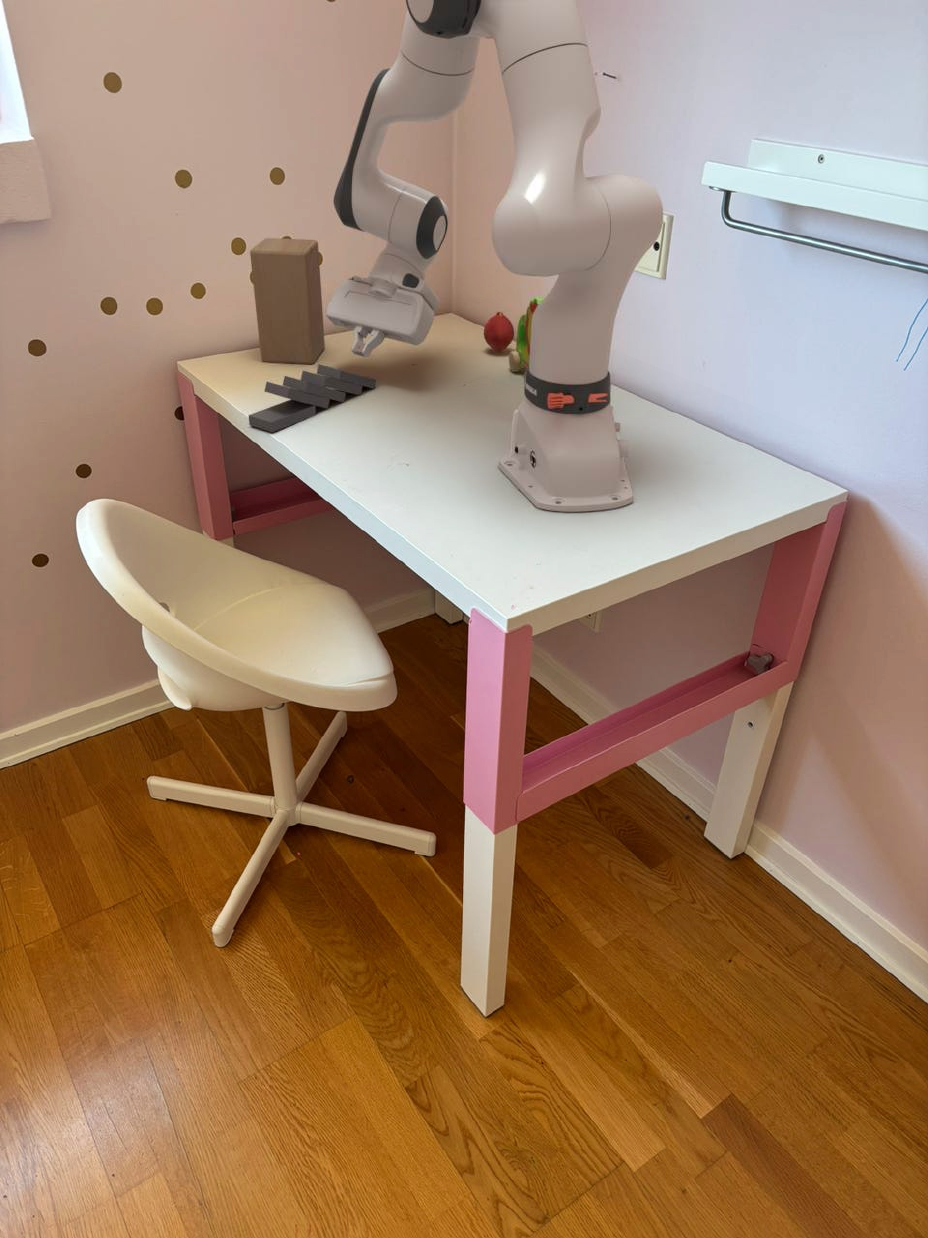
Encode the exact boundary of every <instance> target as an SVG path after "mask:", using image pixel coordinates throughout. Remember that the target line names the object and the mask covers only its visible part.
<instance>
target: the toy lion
mask: <svg viewBox="0 0 928 1238" xmlns="http://www.w3.org/2000/svg"><path fill="white" fill-rule="evenodd" d="M545 297H546V296H545ZM545 297H534V299H533V300H530V302H529V304H528V306H527V308H526V311H525V312H526V313H525V314H522V315H521V316H520V317H519V320H518V324H517V330H516V345H515V346H516V348H515V350H512V351H510V352H509V355H508V364H509V370H510V371H511V373H517V372H520V369H522V370H523V369H524V370H525V372H524V375H523V380H524V379H525V376H526V369H527V368H528V367H529V359H530V341H531V323H532V317H533V314H534V311H535V309H536V308H537V306H538V305H539V304H540V303H541V301H542V300H543V299H544V298H545Z"/></svg>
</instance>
